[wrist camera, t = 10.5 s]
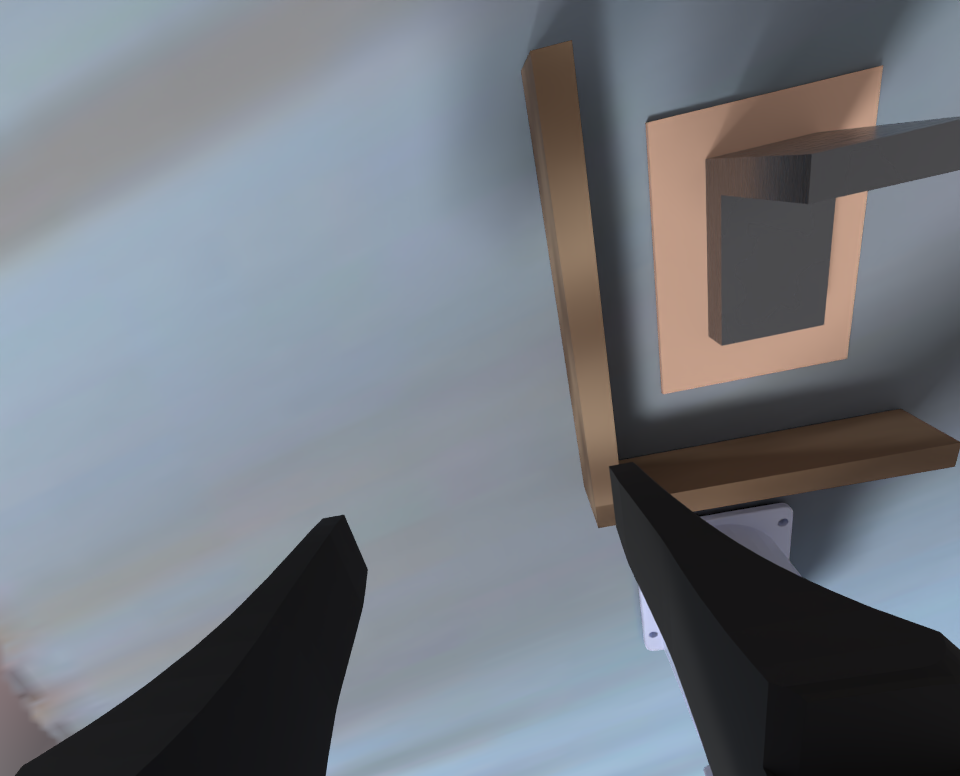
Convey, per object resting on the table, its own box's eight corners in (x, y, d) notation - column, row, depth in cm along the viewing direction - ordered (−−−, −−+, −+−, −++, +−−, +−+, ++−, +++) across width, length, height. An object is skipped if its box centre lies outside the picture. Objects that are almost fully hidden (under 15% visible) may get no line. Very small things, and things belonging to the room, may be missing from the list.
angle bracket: (705, 158, 17) (811, 154, 12) (818, 131, 17) (982, 114, 11) (708, 336, 20) (795, 398, 15) (804, 316, 20) (930, 372, 14)
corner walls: (896, 430, 22) (954, 466, 20) (584, 486, 24) (598, 528, 21) (984, -49, 15) (1098, -98, 12) (520, 70, 16) (530, 50, 13)
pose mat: (843, 356, 21) (846, 358, 21) (661, 392, 21) (663, 394, 21) (878, 66, 16) (882, 65, 16) (645, 123, 17) (647, 122, 17)
